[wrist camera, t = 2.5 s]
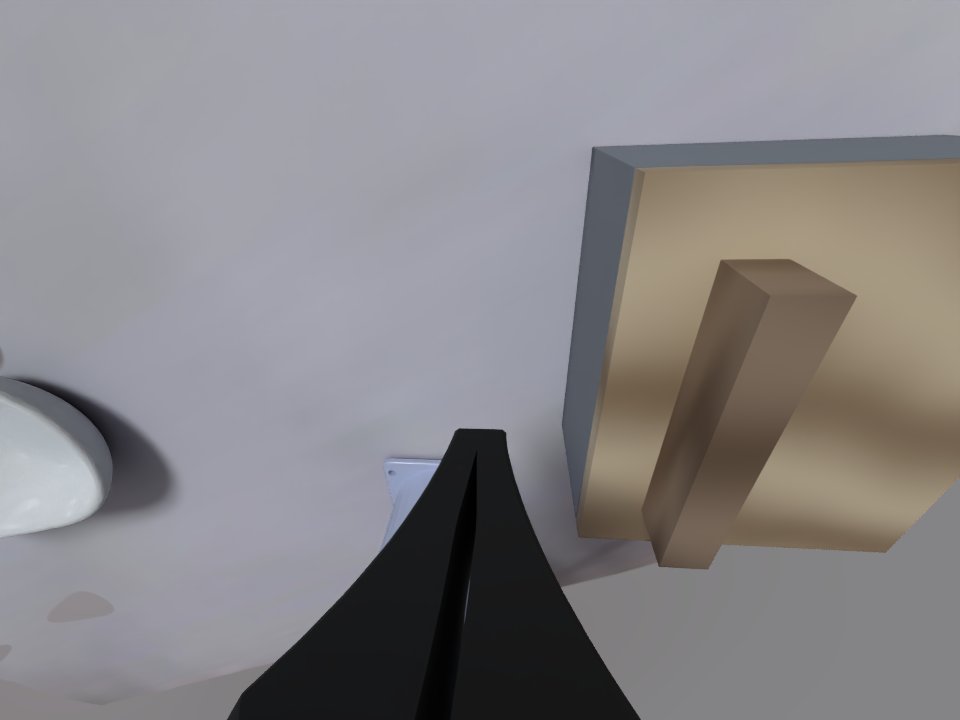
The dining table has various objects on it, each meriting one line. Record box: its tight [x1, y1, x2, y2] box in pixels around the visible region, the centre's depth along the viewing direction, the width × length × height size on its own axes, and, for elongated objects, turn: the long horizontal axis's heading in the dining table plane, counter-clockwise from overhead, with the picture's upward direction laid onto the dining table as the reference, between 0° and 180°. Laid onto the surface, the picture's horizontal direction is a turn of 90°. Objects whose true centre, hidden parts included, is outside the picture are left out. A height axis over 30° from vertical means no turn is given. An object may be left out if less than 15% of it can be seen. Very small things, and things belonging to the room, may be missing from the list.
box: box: [562, 135, 960, 518], centre depth 15 cm, size 14×12×6 cm
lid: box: [576, 159, 960, 569], centre depth 11 cm, size 14×12×3 cm
